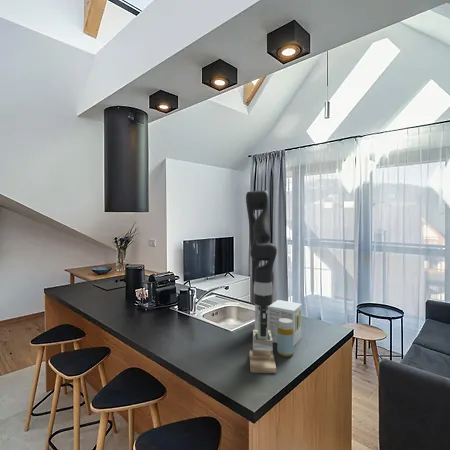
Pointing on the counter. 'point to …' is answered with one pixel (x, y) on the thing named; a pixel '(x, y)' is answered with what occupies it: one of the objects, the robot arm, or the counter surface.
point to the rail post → (259, 330)
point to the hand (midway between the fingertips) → (262, 332)
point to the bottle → (285, 337)
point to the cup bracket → (262, 355)
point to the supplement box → (284, 311)
